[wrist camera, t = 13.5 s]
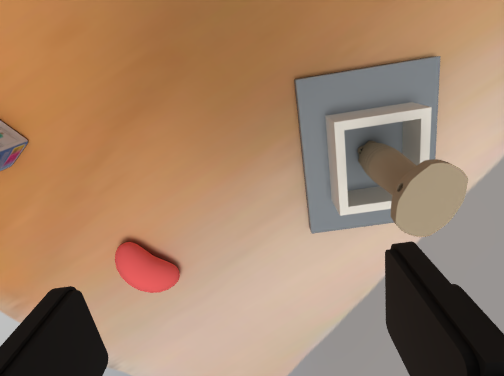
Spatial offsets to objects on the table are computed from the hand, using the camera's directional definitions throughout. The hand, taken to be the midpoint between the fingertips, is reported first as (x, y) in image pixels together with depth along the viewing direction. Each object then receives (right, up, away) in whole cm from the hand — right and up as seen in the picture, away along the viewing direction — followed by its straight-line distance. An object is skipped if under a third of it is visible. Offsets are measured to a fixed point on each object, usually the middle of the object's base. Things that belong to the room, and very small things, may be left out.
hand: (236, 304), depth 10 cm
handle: (+15, +8, +30) cm, 34 cm away
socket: (+15, +8, +31) cm, 36 cm away
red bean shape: (-14, -7, +38) cm, 41 cm away
